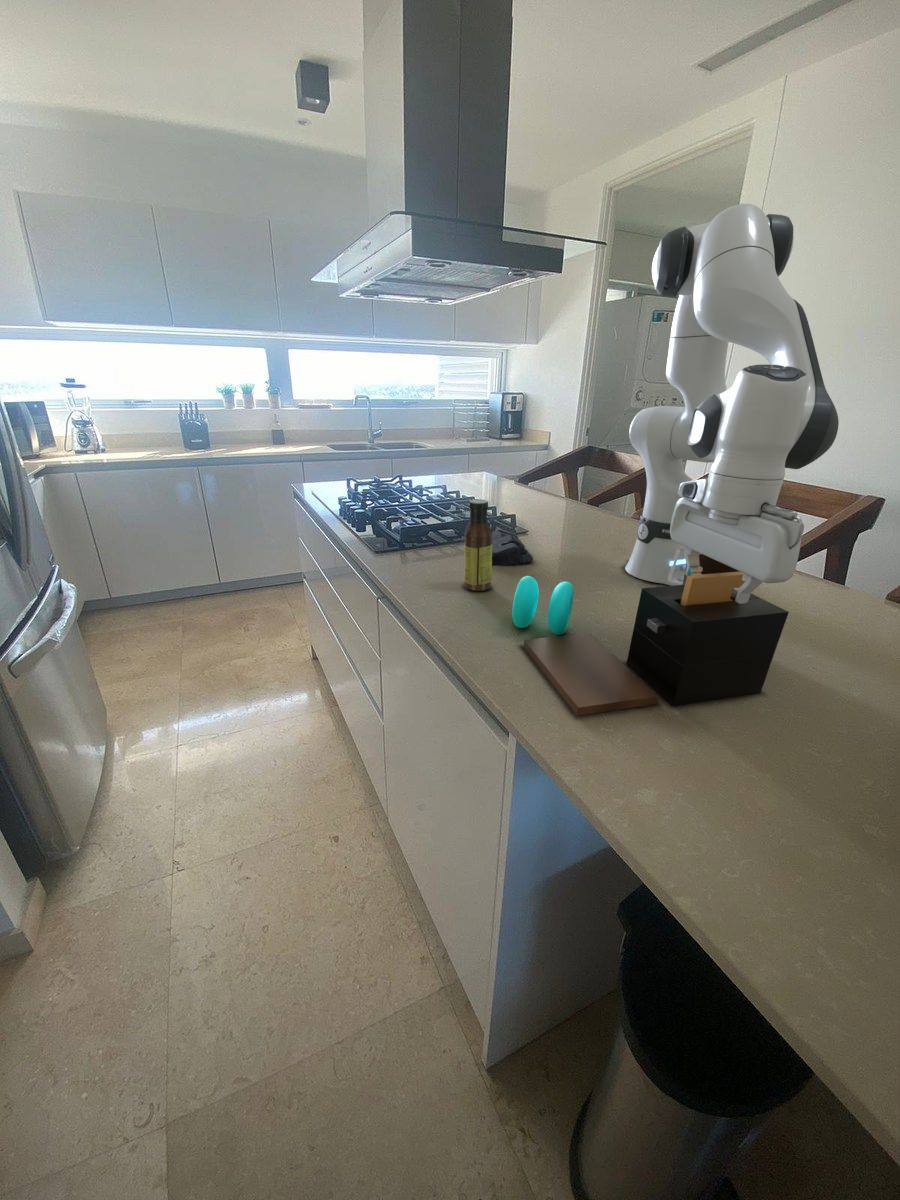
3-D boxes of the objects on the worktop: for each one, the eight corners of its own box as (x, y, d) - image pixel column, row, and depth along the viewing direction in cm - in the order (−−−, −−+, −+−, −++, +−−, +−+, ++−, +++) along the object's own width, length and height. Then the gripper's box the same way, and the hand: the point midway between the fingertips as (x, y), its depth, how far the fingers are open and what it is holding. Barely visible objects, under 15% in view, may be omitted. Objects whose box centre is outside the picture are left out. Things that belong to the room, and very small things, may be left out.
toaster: (705, 654, 86) (726, 580, 80) (760, 692, 75) (789, 611, 70) (617, 665, 82) (632, 588, 76) (662, 707, 71) (684, 623, 65)
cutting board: (588, 639, 90) (590, 632, 89) (656, 704, 72) (658, 695, 71) (523, 647, 87) (524, 639, 86) (576, 716, 69) (578, 707, 68)
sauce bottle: (491, 582, 114) (496, 498, 106) (490, 593, 108) (496, 505, 100) (463, 581, 114) (466, 496, 106) (461, 591, 109) (464, 503, 100)
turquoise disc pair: (562, 645, 87) (570, 594, 83) (508, 635, 90) (513, 585, 86) (570, 622, 96) (577, 575, 92) (520, 613, 99) (525, 567, 95)
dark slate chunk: (521, 540, 145) (523, 524, 143) (534, 566, 125) (536, 548, 123) (470, 539, 145) (471, 523, 143) (474, 564, 125) (475, 547, 123)
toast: (724, 635, 78) (743, 570, 73) (730, 638, 77) (749, 573, 72) (670, 641, 75) (687, 575, 71) (675, 645, 74) (692, 578, 70)
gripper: (828, 513, 58) (791, 617, 64) (706, 481, 76) (686, 564, 82) (786, 515, 57) (752, 621, 62) (672, 482, 75) (654, 566, 80)
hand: (714, 588), depth 72 cm, fingers open, 8 cm apart
